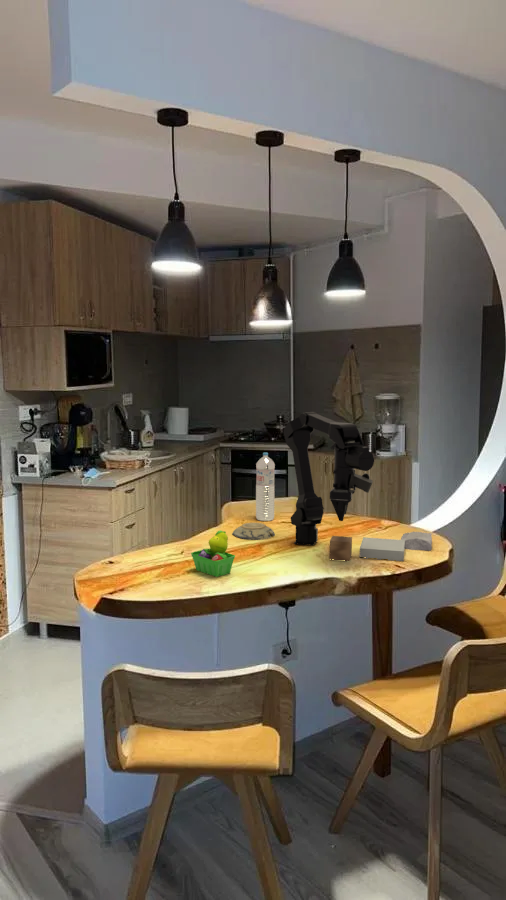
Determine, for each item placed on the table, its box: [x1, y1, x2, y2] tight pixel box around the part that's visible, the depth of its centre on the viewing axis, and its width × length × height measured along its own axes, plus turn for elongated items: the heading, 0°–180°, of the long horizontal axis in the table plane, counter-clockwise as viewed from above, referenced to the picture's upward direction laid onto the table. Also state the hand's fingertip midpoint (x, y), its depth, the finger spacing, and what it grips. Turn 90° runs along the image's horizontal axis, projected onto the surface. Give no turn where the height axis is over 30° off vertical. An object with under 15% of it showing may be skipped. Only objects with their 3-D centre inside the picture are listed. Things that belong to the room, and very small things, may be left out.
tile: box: [359, 536, 406, 562], centre depth 213 cm, size 13×13×3 cm
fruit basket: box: [190, 529, 236, 578], centre depth 194 cm, size 11×9×11 cm
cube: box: [328, 535, 353, 562], centre depth 208 cm, size 6×6×6 cm
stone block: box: [400, 531, 433, 552], centre depth 222 cm, size 12×5×10 cm
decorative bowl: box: [231, 522, 276, 541], centre depth 235 cm, size 15×4×15 cm
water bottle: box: [255, 452, 276, 522], centre depth 255 cm, size 7×7×25 cm
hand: (342, 517), depth 207 cm, fingers open, 9 cm apart
